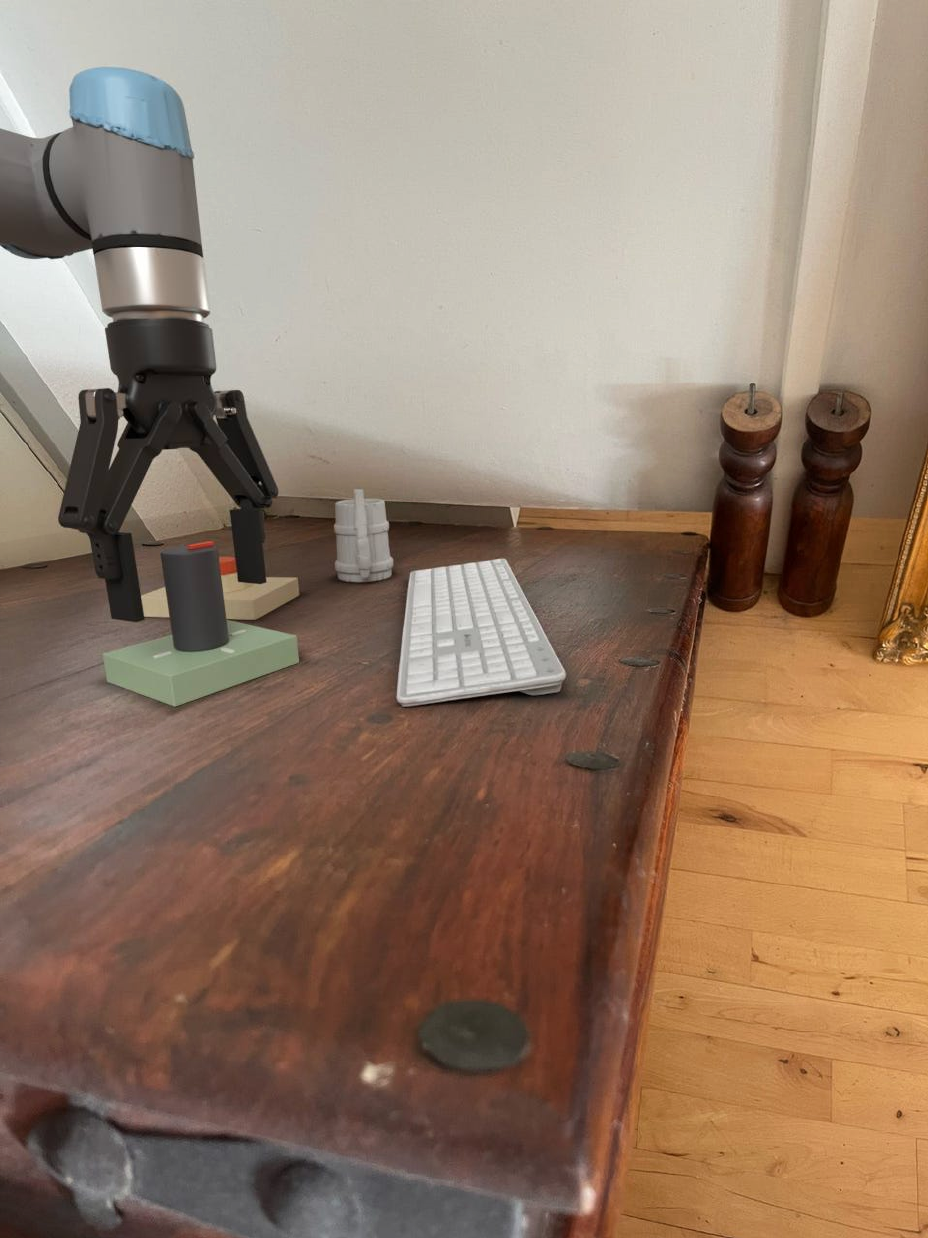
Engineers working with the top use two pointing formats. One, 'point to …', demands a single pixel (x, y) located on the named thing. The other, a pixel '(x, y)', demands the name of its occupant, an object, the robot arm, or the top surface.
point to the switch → (227, 565)
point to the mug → (362, 539)
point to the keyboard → (472, 637)
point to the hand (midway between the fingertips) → (195, 599)
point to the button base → (235, 597)
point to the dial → (195, 596)
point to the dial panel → (199, 664)
